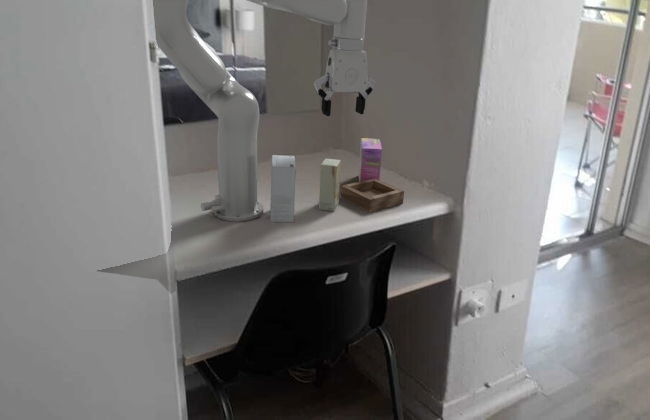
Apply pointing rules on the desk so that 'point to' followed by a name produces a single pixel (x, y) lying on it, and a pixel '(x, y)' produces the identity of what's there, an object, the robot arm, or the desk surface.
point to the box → (370, 159)
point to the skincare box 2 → (329, 184)
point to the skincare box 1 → (283, 188)
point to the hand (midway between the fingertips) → (343, 114)
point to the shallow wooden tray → (372, 194)
